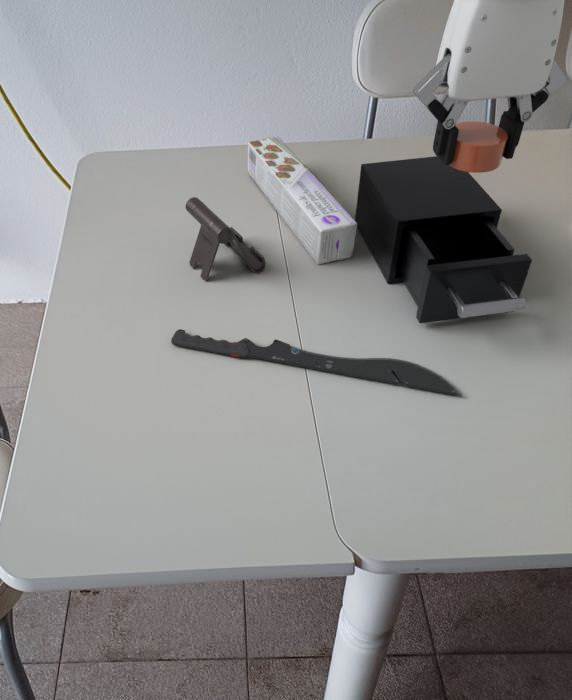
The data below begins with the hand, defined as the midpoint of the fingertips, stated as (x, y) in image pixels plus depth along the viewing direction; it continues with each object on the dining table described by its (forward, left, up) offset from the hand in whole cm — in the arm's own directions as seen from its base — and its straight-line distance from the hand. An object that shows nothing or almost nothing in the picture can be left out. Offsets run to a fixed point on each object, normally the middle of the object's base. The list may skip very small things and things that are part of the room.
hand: (473, 154), depth 69 cm
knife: (+19, +11, -17) cm, 28 cm away
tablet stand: (+26, -9, -17) cm, 33 cm away
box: (+14, -20, -17) cm, 30 cm away
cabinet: (0, -8, -17) cm, 19 cm away
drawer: (0, +4, -16) cm, 17 cm away
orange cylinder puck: (0, 0, -1) cm, 1 cm away
